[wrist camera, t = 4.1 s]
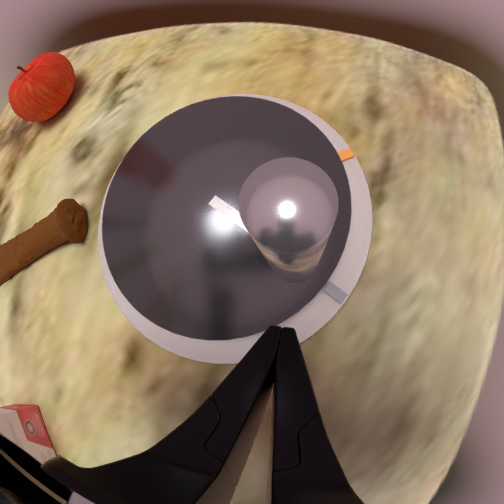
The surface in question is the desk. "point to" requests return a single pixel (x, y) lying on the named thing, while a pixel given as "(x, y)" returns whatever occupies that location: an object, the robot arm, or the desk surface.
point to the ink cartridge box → (26, 430)
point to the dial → (226, 218)
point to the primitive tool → (43, 237)
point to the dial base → (310, 314)
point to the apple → (42, 87)
